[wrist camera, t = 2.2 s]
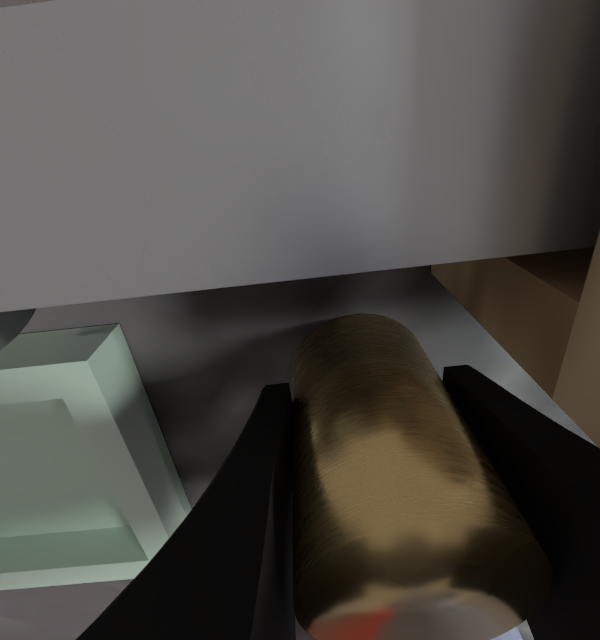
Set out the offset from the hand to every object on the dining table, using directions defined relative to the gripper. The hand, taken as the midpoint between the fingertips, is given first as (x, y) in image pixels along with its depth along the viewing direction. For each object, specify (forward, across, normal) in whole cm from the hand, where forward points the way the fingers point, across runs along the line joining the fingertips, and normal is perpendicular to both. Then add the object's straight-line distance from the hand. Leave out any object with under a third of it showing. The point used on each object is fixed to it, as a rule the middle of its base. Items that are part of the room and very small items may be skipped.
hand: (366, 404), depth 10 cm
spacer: (+1, 0, 0) cm, 1 cm away
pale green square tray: (+1, +11, +2) cm, 11 cm away
